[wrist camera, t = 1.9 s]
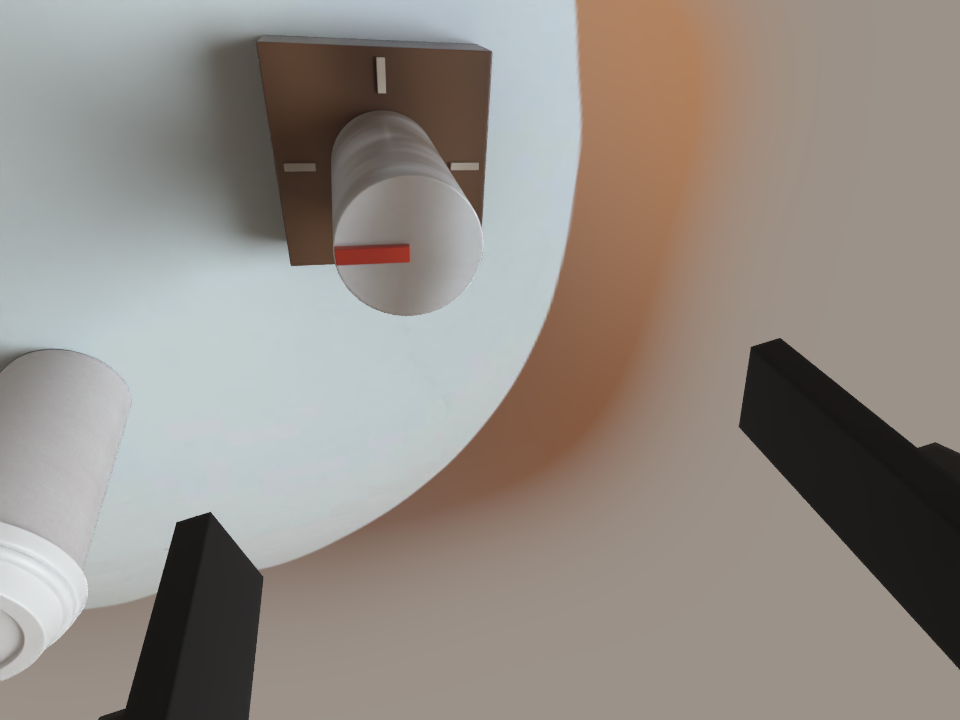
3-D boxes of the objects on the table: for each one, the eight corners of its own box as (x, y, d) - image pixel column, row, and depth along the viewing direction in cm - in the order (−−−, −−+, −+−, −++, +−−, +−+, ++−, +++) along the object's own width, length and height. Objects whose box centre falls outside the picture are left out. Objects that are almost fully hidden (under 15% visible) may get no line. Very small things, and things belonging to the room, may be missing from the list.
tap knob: (437, 110, 25) (490, 176, 17) (436, 215, 28) (481, 315, 20) (325, 108, 24) (324, 178, 16) (336, 218, 27) (340, 325, 19)
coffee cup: (123, 314, 30) (-9, 536, 18) (181, 438, 36) (110, 669, 24) (-73, 338, 29) (-359, 598, 17) (20, 464, 34) (-144, 727, 22)
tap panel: (477, 44, 27) (493, 51, 24) (468, 237, 32) (480, 259, 30) (262, 34, 24) (254, 41, 22) (293, 243, 30) (290, 267, 28)
